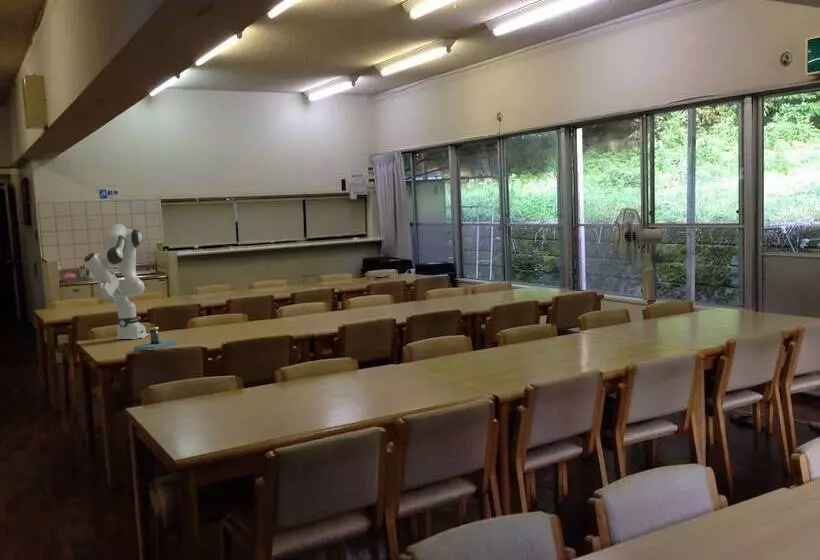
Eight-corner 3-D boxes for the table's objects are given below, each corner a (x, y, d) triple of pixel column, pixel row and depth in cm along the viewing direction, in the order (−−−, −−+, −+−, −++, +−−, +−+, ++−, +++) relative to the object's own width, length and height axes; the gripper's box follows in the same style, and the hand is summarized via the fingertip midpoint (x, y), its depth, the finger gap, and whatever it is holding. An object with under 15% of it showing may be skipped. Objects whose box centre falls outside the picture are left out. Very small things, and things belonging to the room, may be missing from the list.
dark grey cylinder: (151, 347, 436) (149, 327, 435) (161, 346, 436) (159, 326, 435) (149, 348, 430) (147, 328, 429) (159, 348, 431) (157, 328, 430)
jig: (155, 344, 445) (154, 340, 445) (175, 343, 442) (175, 339, 442) (133, 351, 424) (133, 346, 424) (155, 350, 421) (154, 346, 421)
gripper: (104, 283, 420) (117, 302, 426) (113, 269, 438) (126, 288, 444) (94, 288, 420) (108, 307, 426) (104, 273, 439) (117, 292, 445)
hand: (117, 297), depth 435 cm, fingers open, 8 cm apart
